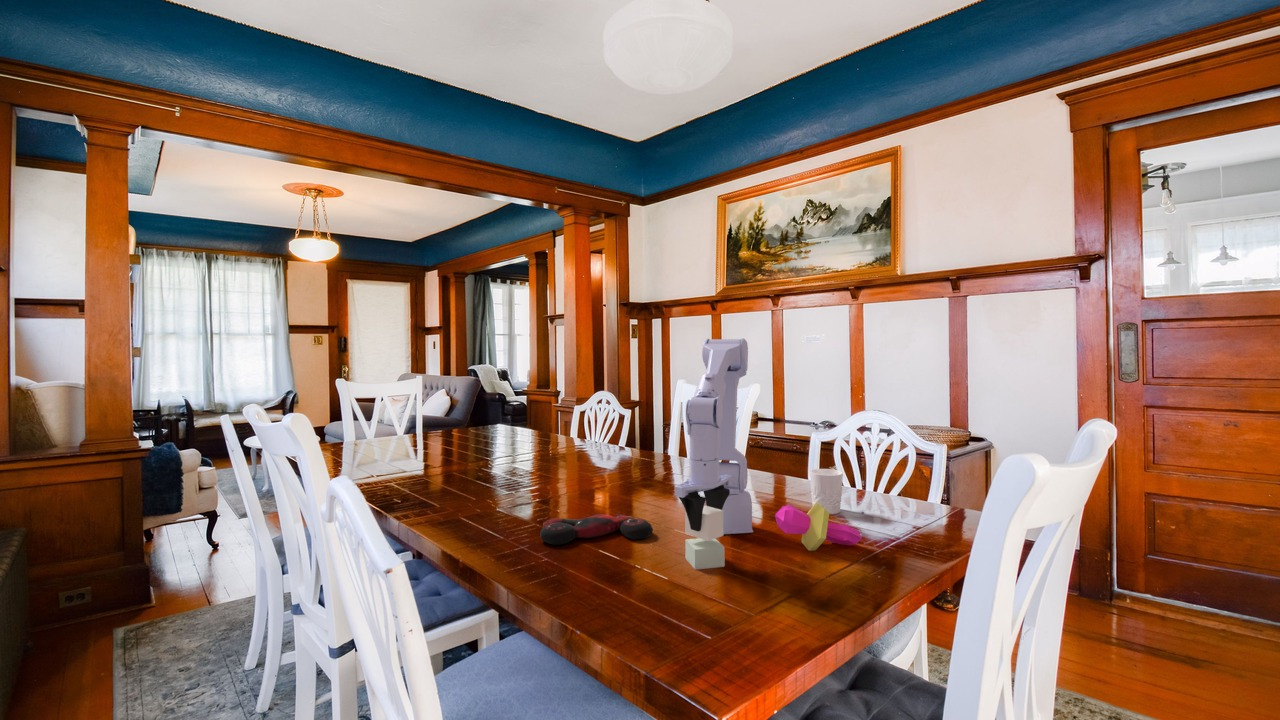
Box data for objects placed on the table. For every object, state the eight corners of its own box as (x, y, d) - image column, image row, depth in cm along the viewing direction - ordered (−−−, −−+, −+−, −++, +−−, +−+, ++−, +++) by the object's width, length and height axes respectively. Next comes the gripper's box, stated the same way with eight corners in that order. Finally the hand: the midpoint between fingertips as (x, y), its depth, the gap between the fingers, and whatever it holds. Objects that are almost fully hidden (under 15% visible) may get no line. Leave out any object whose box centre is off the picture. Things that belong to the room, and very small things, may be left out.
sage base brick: (713, 556, 118) (713, 537, 118) (724, 567, 112) (724, 546, 112) (685, 559, 117) (685, 539, 117) (695, 570, 111) (694, 549, 111)
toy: (865, 563, 116) (870, 511, 120) (778, 537, 116) (787, 487, 120) (843, 565, 125) (848, 517, 129) (763, 541, 125) (771, 494, 129)
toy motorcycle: (656, 546, 128) (642, 514, 144) (656, 524, 127) (642, 495, 143) (541, 557, 124) (539, 523, 139) (540, 535, 123) (539, 503, 138)
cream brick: (700, 528, 118) (700, 504, 118) (723, 535, 114) (723, 510, 114) (685, 533, 115) (684, 508, 115) (707, 540, 111) (707, 514, 111)
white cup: (849, 512, 148) (849, 473, 148) (827, 517, 144) (827, 476, 144) (825, 505, 155) (825, 467, 155) (803, 509, 151) (803, 470, 151)
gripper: (713, 451, 122) (713, 515, 122) (663, 460, 112) (663, 530, 113) (740, 455, 117) (740, 523, 117) (689, 465, 107) (690, 539, 107)
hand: (704, 527), depth 115 cm, fingers closed on cream brick, 4 cm apart
